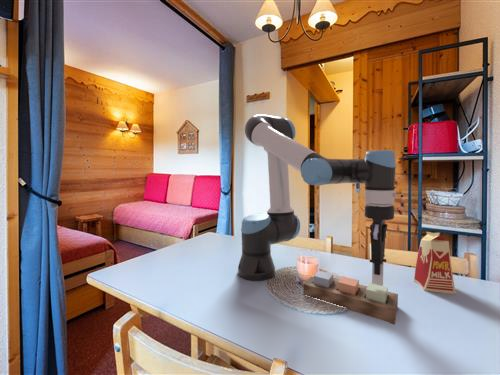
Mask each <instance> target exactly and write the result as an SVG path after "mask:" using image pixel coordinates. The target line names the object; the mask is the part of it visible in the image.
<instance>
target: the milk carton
mask: <svg viewBox="0 0 500 375" xmlns="http://www.w3.org/2000/svg"><path fill="white" fill-rule="evenodd" d="M425 233H426V235H424V236H423V237H422V238H421V239H420V243H419V248H418V251H417V258H416V262H415V267H414V268H415V269H414V276H413V281H414V282H415V283H416V284H418V285H419V286H420V287H421V289H422V290H423V291H424V292H425V291H426V292H434V293H443V294H444V293H445V294H455V295H456V294H457V291H456V287H455V286H456V285H455V282H454V275H453V266H452V261H451V260H452V259H451V252H450V242H449V240H447V239H445V238H444V237H442V236H440V234H441V232H430V231H425Z"/></svg>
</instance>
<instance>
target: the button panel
mask: <svg viewBox="0 0 500 375" xmlns="http://www.w3.org/2000/svg"><path fill="white" fill-rule="evenodd" d="M340 279H341V278H340ZM340 279H339V278H334V277H333V284H332V286H331V287H330V288H327V287H323V286H320V285H316V284H313V281H314V277H311V276H310V277H308V279H307V280H306V281H305V282H304V283H303V284H302V286H303V288H302V289H303V291H302V292H303V293H302V294H303V295H307V296H310V297H313V298H317V299H320V300H324V301H326V302H330V303H333V304H336V305H339V306H343V307H346V308H347V309H348V311H351V312H353V313H357V314H361V315H363V316H367V317H370V318H373V319H376V320H379V321H382V322H385V323H389V324H392V325H395V322H396V318H397V317H396V316H397V311H398V308H399V307H398V305H399V302H398V300H399V294H398V293H395V292H391V291H388V294H387V304H384V303H381V302H377V301H374V300H370V299H367V298H366V289H367V286H368V285H367V286H366V285H364V284H360V283H359V292H358V294H357V296H356V295H352V294H349V293H345V292H341V291H338V282H339V280H340ZM310 297H309V298H310ZM313 298H312V299H313ZM347 309H346V310H347Z"/></svg>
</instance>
